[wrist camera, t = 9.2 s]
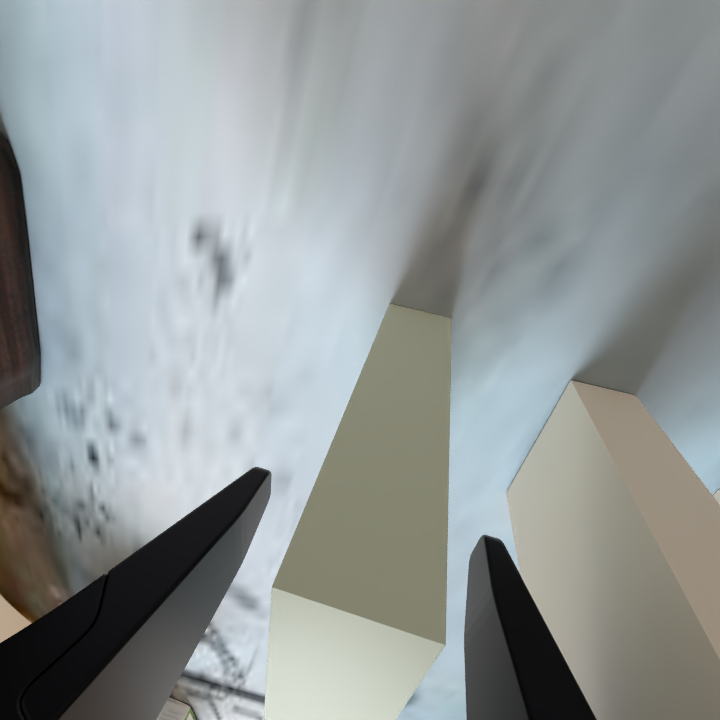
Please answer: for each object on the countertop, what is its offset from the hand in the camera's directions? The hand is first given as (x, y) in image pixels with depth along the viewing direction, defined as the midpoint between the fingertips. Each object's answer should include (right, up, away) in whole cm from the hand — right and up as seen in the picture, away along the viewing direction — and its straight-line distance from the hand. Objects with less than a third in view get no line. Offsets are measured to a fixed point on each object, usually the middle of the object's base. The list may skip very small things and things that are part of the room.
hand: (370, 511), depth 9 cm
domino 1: (+1, +3, +3) cm, 4 cm away
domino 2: (+6, +1, +3) cm, 7 cm away
